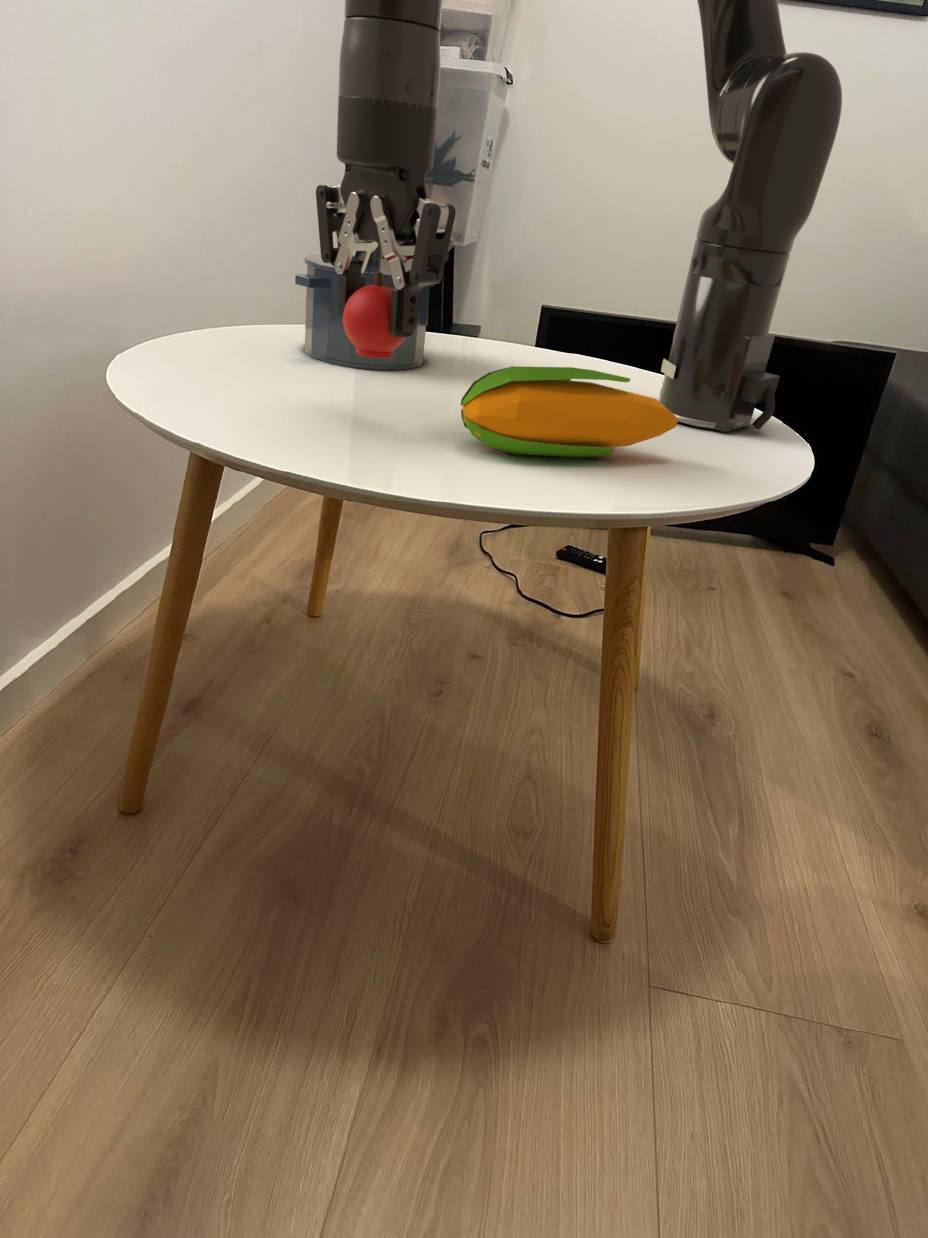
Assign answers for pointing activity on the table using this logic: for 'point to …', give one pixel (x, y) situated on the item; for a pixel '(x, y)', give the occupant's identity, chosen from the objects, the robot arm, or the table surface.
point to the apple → (371, 320)
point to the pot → (329, 333)
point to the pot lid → (371, 268)
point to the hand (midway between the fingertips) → (375, 327)
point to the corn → (559, 412)
